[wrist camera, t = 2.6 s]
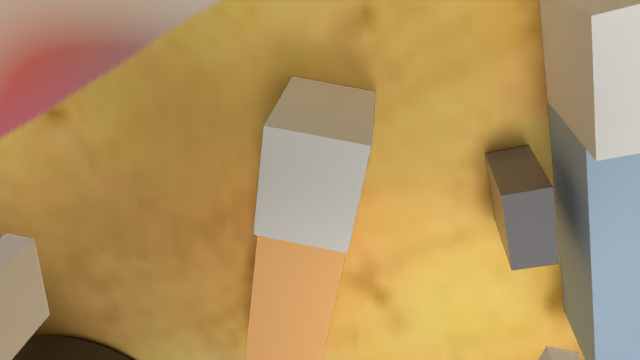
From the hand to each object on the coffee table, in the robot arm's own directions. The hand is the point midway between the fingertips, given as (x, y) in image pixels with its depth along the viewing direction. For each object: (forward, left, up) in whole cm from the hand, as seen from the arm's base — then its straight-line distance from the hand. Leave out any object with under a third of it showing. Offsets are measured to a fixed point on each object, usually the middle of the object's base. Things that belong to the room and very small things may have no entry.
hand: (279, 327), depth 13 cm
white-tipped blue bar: (+12, -5, -13) cm, 18 cm away
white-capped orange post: (-3, -6, -13) cm, 15 cm away
